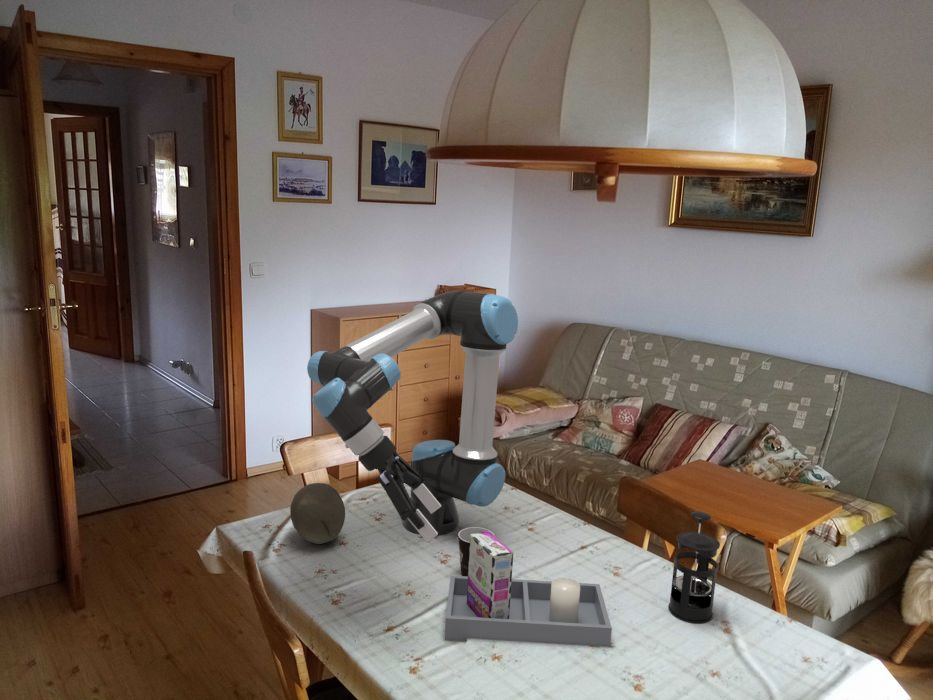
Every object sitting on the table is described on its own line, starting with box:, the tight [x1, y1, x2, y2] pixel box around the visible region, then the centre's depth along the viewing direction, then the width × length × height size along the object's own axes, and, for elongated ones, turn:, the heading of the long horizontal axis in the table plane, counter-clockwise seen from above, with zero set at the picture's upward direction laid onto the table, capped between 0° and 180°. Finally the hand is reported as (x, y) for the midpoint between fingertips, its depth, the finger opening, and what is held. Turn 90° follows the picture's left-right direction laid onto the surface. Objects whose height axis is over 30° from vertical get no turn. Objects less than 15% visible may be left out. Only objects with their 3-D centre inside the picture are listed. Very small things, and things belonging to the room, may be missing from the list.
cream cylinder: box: [549, 577, 580, 623], centre depth 149 cm, size 6×6×8 cm
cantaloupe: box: [289, 482, 346, 545], centre depth 181 cm, size 14×14×15 cm
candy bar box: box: [467, 531, 514, 619], centre depth 149 cm, size 11×5×16 cm, turn 25°
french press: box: [667, 511, 721, 625], centre depth 155 cm, size 12×9×23 cm
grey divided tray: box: [444, 575, 613, 648], centre depth 150 cm, size 17×33×5 cm, turn 88°
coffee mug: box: [457, 526, 496, 576], centre depth 169 cm, size 12×9×10 cm
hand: (434, 523), depth 148 cm, fingers open, 13 cm apart
